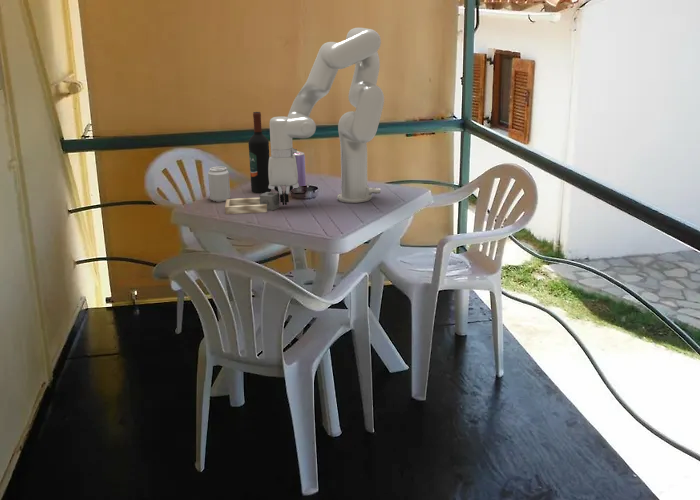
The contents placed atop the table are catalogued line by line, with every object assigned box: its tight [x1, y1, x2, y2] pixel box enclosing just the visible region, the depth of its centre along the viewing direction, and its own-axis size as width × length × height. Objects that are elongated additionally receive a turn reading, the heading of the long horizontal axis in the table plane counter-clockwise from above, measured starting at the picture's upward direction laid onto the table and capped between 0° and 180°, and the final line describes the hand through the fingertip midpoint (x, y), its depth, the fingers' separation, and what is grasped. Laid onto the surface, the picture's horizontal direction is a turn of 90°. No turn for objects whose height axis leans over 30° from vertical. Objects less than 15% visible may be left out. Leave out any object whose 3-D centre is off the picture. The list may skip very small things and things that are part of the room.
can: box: [207, 165, 231, 203], centre depth 266 cm, size 8×8×12 cm
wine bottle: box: [247, 111, 272, 194], centre depth 274 cm, size 8×8×30 cm
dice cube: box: [259, 191, 281, 211], centre depth 256 cm, size 5×5×5 cm
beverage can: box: [293, 151, 307, 187], centre depth 274 cm, size 6×6×15 cm
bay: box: [224, 197, 268, 215], centre depth 256 cm, size 14×10×2 cm
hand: (284, 204), depth 257 cm, fingers closed
